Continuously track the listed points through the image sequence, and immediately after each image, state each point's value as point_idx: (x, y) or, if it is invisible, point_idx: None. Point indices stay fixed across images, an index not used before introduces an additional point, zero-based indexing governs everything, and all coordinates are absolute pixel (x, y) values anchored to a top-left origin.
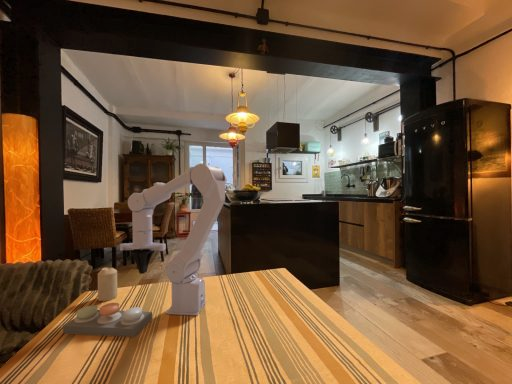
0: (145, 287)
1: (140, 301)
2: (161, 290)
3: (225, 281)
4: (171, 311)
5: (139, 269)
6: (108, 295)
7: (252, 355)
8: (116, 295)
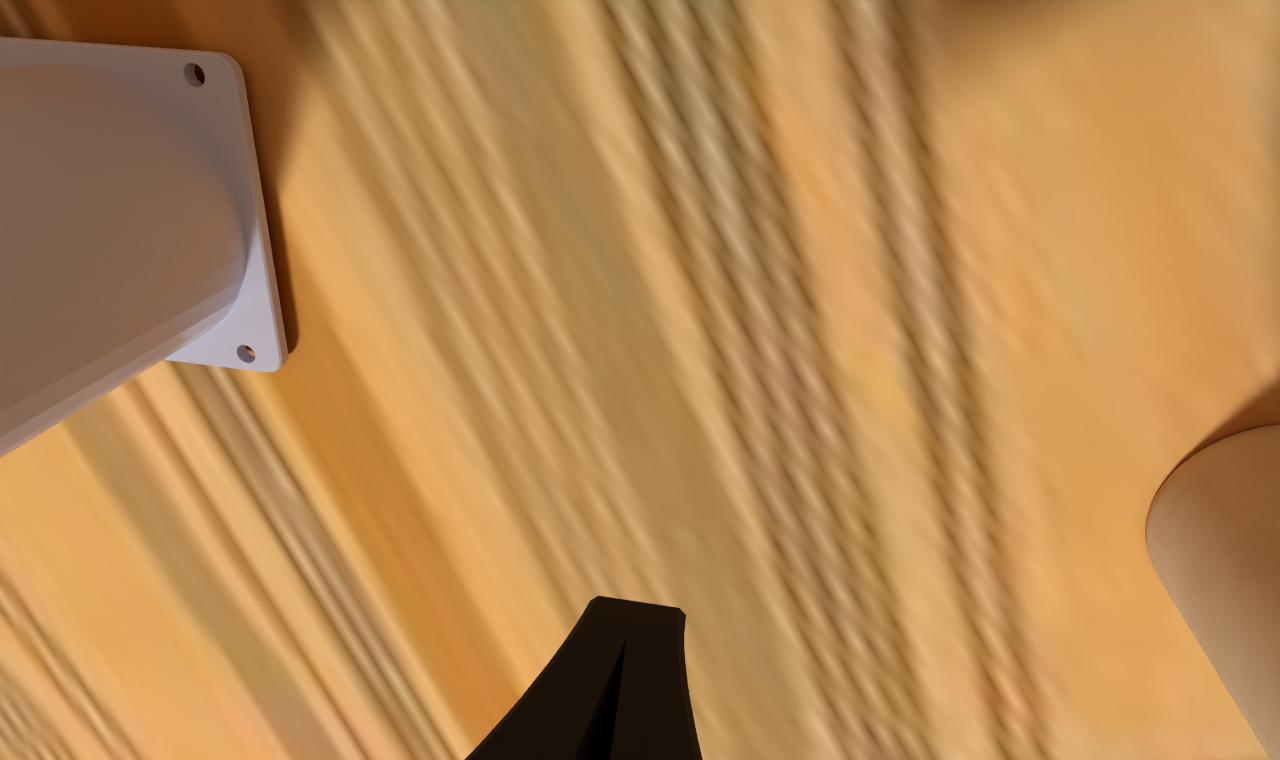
0: (869, 726)
1: (745, 394)
2: None
3: (87, 742)
4: (176, 85)
5: (647, 660)
6: (1252, 478)
7: None
8: (1150, 538)
